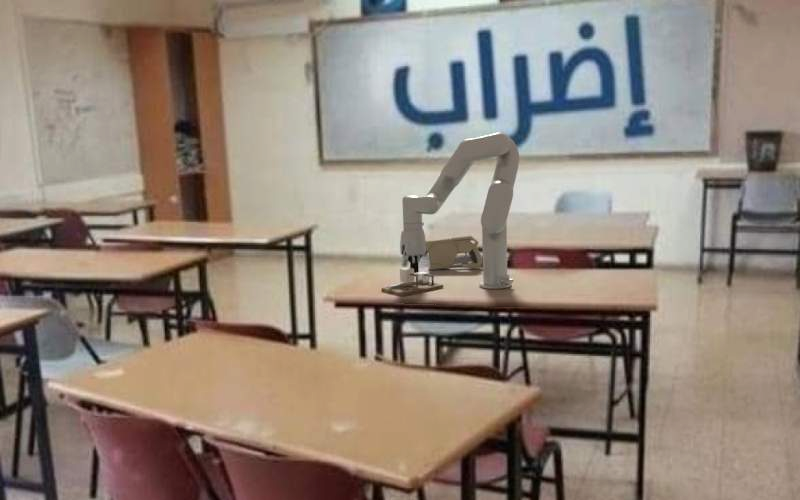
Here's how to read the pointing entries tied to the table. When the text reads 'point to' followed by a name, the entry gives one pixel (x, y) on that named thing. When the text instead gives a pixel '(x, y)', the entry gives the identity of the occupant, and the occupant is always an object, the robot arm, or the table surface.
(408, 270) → the sliding leg
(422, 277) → the beam
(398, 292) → the hole board
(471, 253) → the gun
